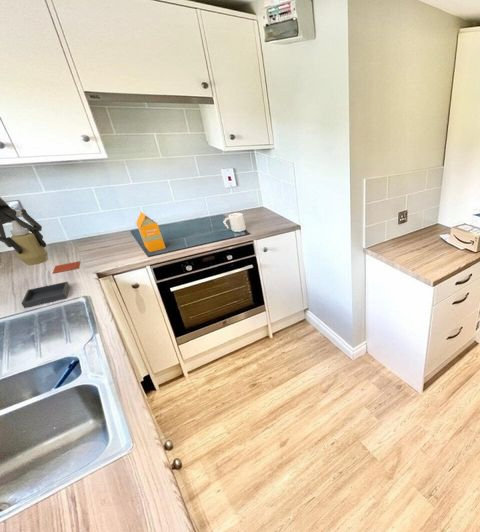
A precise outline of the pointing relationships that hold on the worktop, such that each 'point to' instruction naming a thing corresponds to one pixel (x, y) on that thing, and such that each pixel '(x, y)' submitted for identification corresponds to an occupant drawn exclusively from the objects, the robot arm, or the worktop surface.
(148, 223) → the orange juice
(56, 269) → the mat
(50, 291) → the tray
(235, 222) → the mug
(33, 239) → the squeeze bottle
